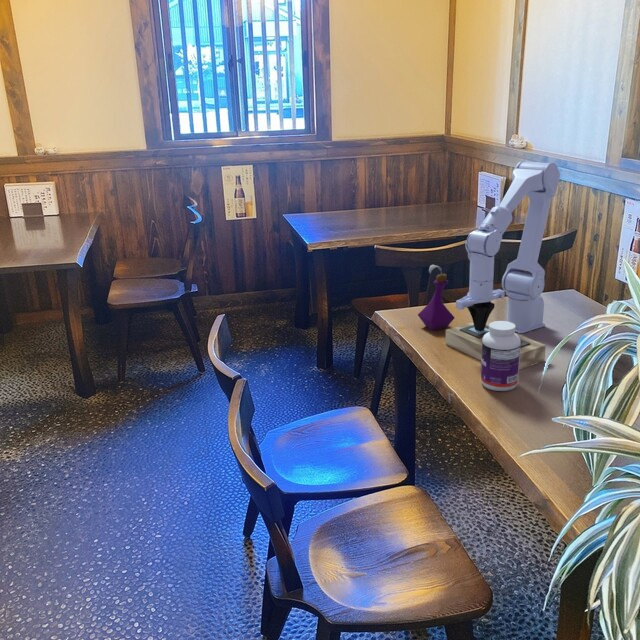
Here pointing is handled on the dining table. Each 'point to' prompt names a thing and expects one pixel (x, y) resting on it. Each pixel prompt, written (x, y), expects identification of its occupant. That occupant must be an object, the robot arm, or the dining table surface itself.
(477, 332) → the peg blue
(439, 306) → the perfume bottle
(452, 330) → the socket block
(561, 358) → the dining table surface
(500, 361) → the pill bottle
